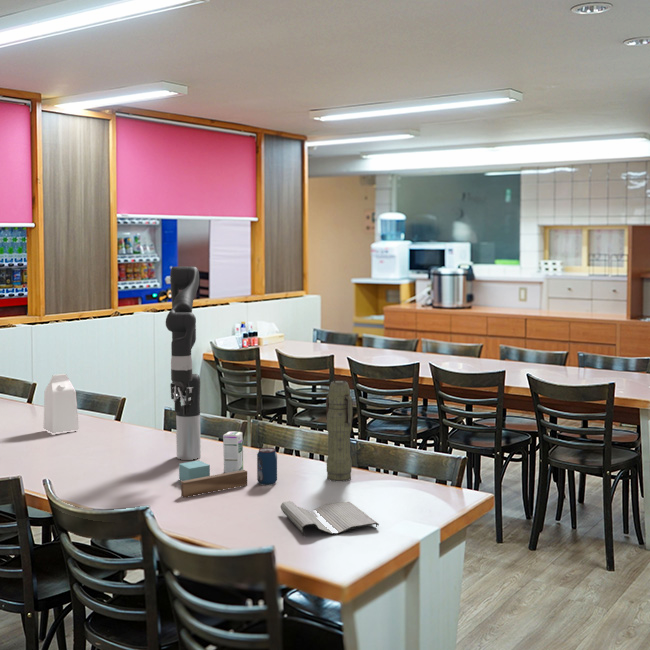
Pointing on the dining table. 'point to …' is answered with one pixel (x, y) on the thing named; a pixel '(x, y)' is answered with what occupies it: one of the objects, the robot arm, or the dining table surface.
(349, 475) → the thermos
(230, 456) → the syrup box
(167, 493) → the dining table surface
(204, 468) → the block
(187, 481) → the board
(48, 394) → the milk
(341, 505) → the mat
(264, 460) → the soda can
